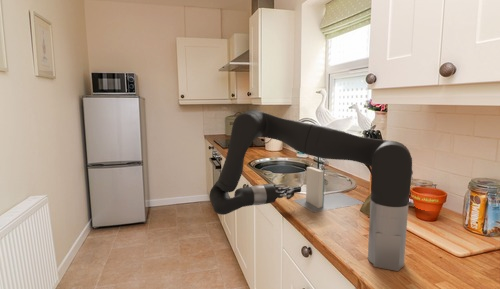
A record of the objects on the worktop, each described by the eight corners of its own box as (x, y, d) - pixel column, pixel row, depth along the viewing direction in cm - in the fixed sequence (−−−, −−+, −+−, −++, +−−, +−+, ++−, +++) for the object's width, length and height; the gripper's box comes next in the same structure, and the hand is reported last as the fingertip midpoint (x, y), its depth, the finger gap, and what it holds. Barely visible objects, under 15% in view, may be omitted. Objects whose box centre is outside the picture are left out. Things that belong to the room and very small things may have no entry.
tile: (318, 207, 121) (319, 171, 118) (306, 201, 129) (306, 167, 127) (323, 206, 122) (324, 171, 119) (310, 200, 130) (311, 166, 128)
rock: (397, 217, 107) (386, 204, 117) (385, 200, 106) (374, 188, 115) (371, 233, 109) (362, 219, 119) (359, 216, 108) (351, 203, 117)
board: (313, 215, 116) (313, 212, 116) (292, 202, 130) (292, 200, 130) (365, 205, 126) (365, 203, 126) (340, 195, 140) (340, 192, 140)
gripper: (269, 189, 108) (309, 184, 115) (254, 180, 120) (291, 176, 127) (269, 209, 109) (309, 202, 116) (254, 198, 121) (291, 193, 128)
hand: (300, 188), depth 121 cm, fingers closed
